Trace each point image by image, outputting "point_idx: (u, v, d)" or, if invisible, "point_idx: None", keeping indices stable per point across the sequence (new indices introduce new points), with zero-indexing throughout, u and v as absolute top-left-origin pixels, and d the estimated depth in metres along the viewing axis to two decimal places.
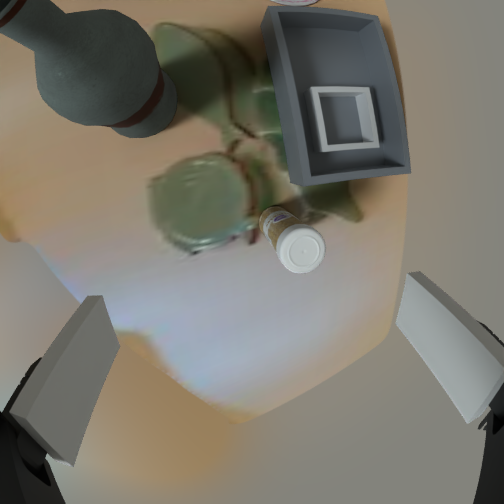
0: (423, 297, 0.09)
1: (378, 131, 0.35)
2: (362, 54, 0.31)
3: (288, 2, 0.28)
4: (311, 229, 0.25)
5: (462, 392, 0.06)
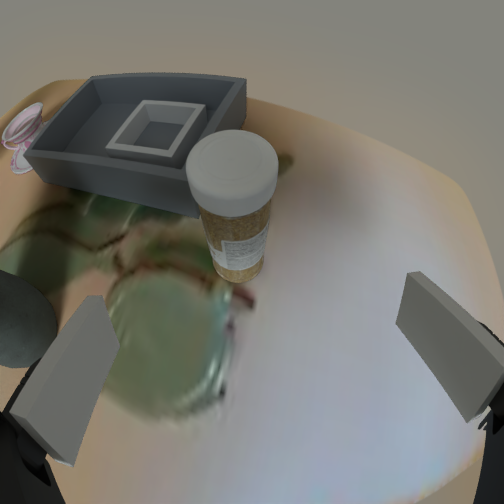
0: (423, 297, 0.09)
1: None
2: (120, 105, 0.33)
3: None
4: (202, 139, 0.13)
5: (462, 392, 0.06)
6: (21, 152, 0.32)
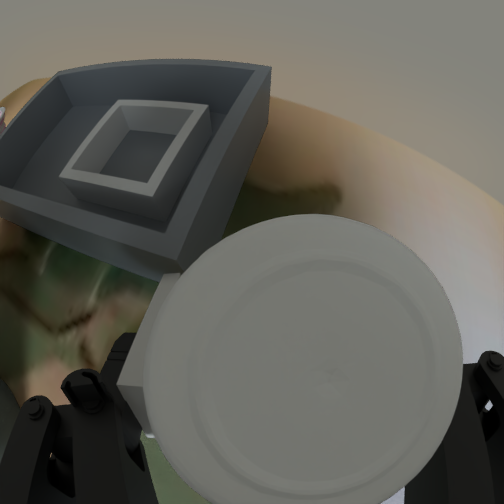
0: None
1: None
2: (94, 107, 0.23)
3: None
4: (198, 262, 0.04)
5: None
6: None
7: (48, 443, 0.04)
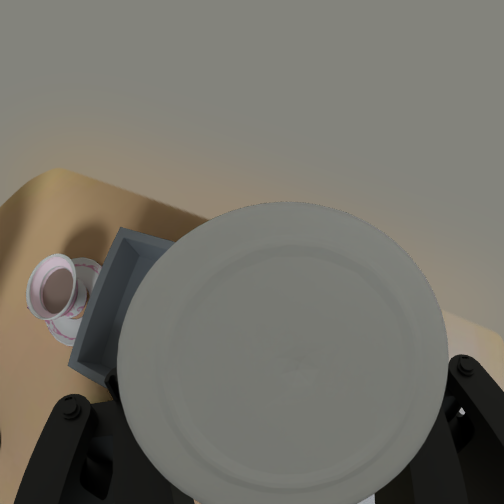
0: None
1: None
2: None
3: None
4: (171, 249, 0.04)
5: None
6: None
7: (83, 444, 0.04)
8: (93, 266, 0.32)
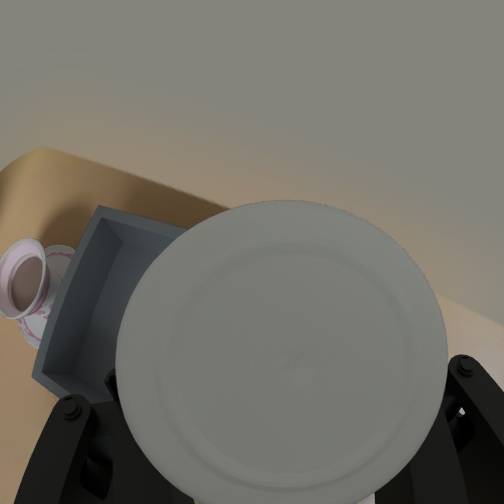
0: None
1: None
2: None
3: None
4: (170, 248, 0.04)
5: None
6: None
7: (83, 445, 0.04)
8: (71, 255, 0.25)
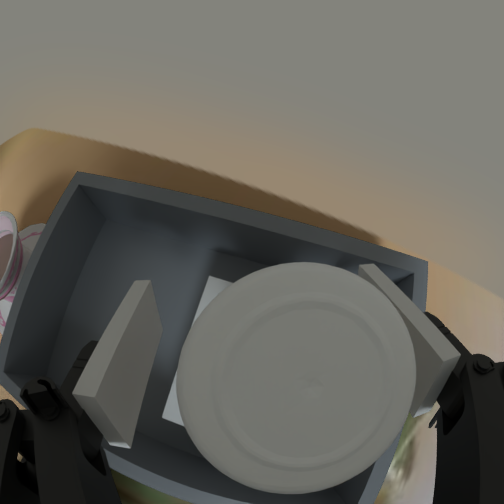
0: None
1: None
2: (145, 236, 0.20)
3: None
4: (215, 301, 0.05)
5: None
6: None
7: (15, 443, 0.04)
8: None
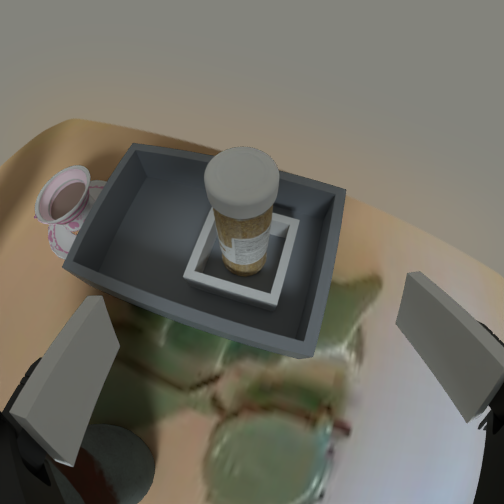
0: (423, 297, 0.09)
1: (278, 210, 0.30)
2: (175, 185, 0.32)
3: None
4: (217, 155, 0.17)
5: (462, 392, 0.06)
6: None
7: None
8: None
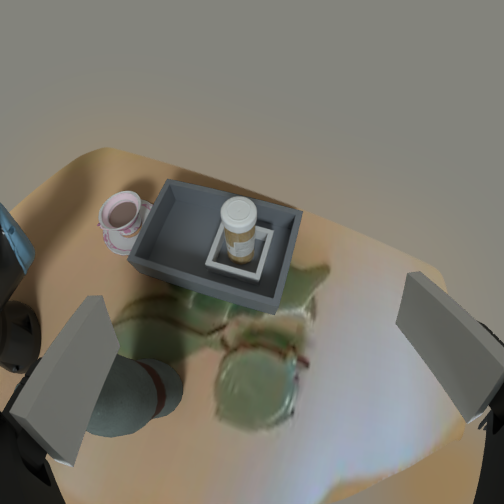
0: (423, 297, 0.09)
1: (262, 224, 0.49)
2: (195, 206, 0.50)
3: None
4: (226, 201, 0.35)
5: (462, 392, 0.06)
6: None
7: None
8: (146, 204, 0.51)
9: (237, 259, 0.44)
